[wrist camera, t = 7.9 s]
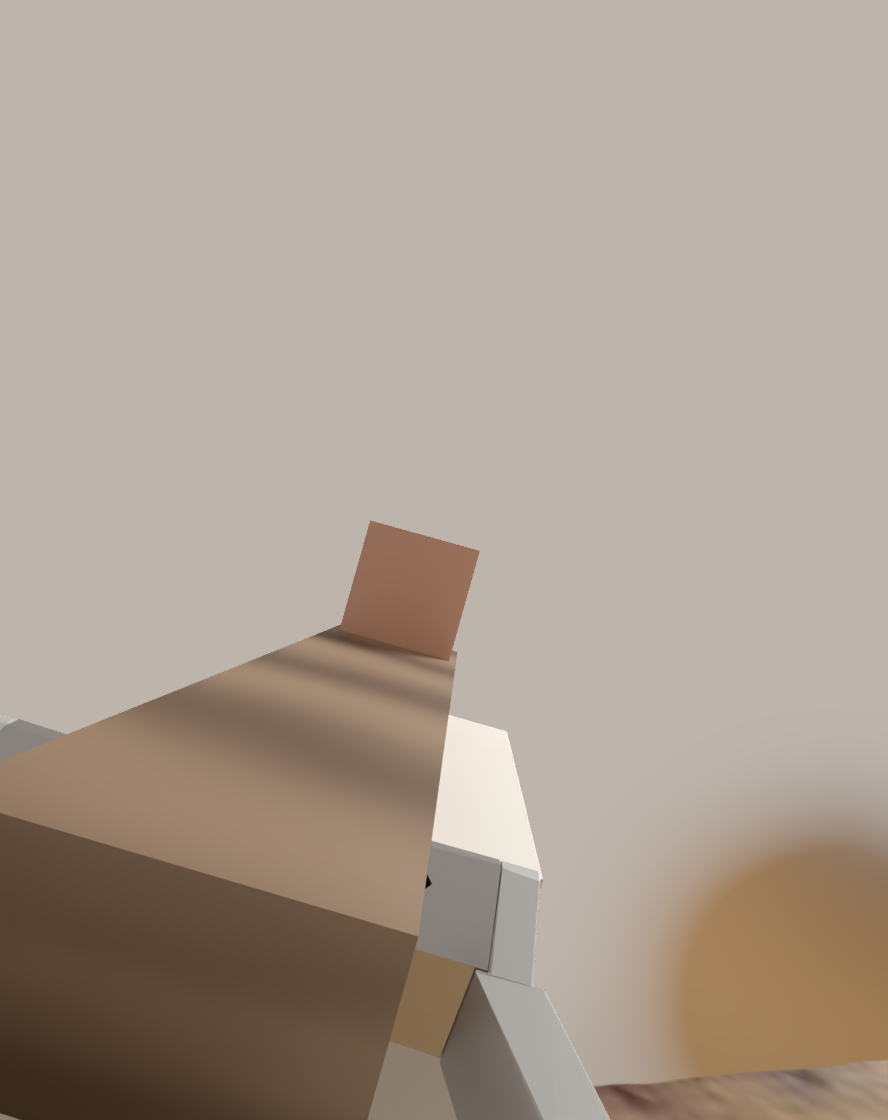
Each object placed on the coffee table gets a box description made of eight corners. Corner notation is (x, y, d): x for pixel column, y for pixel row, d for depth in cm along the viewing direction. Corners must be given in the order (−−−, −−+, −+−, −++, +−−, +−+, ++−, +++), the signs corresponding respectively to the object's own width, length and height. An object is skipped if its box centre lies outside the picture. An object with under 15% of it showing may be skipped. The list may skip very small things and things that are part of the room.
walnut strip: (332, 681, 33) (349, 621, 33) (440, 712, 33) (457, 651, 33) (-152, 1066, 7) (-75, 791, 7) (340, 1218, 7) (418, 936, 7)
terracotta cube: (354, 623, 33) (382, 526, 33) (451, 650, 33) (478, 553, 33) (339, 629, 29) (370, 520, 29) (448, 660, 29) (479, 551, 29)
